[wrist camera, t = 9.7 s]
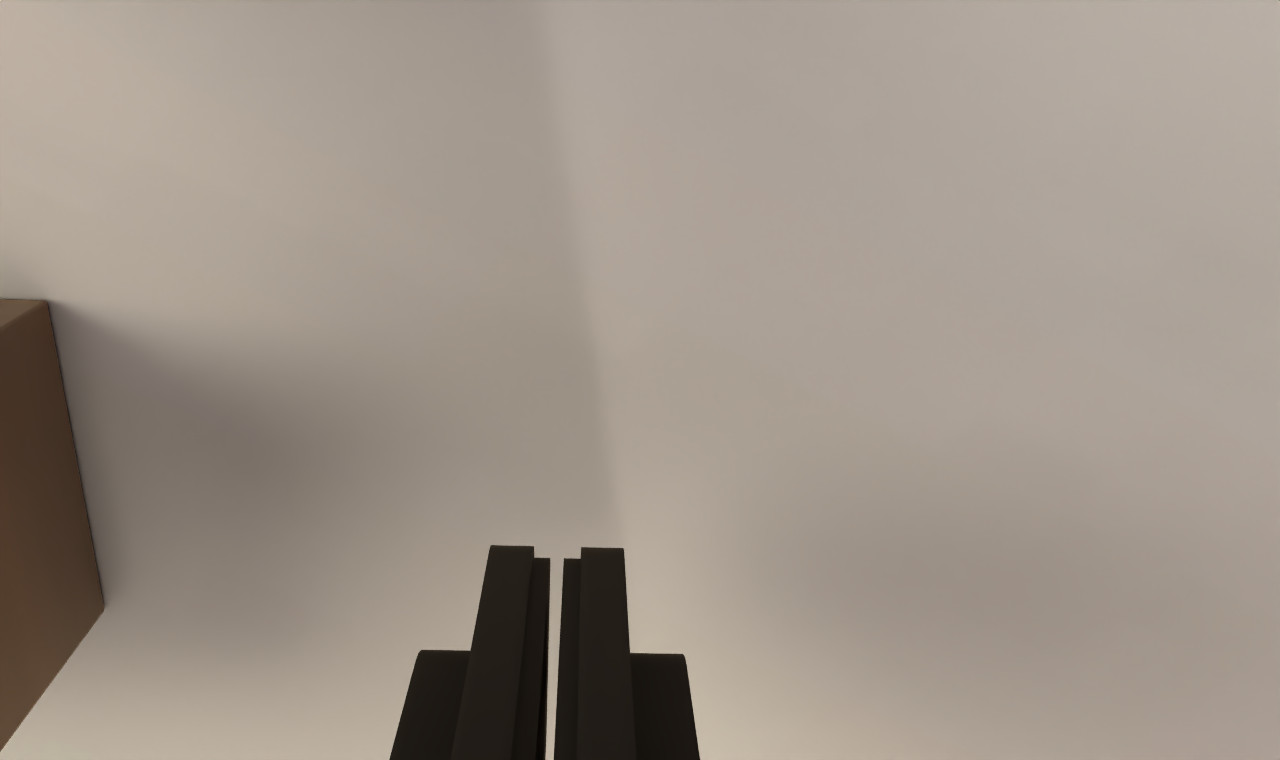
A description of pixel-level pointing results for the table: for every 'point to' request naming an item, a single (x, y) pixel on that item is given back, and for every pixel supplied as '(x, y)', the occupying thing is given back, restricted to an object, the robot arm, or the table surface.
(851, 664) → the table surface
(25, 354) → the walnut block
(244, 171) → the table surface
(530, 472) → the table surface
